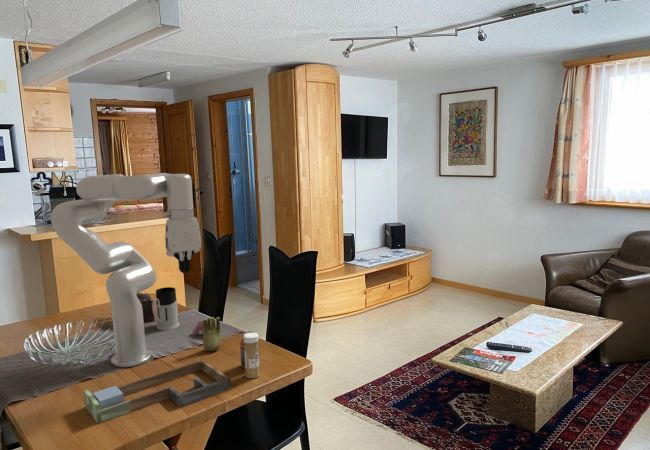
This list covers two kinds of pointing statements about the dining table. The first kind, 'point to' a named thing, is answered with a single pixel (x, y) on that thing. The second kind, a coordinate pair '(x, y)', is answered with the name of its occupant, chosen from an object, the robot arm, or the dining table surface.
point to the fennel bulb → (212, 334)
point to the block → (109, 397)
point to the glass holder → (166, 308)
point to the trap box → (161, 391)
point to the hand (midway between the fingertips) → (184, 272)
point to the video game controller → (200, 328)
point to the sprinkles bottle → (251, 355)
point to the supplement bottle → (244, 349)
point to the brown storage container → (146, 307)
